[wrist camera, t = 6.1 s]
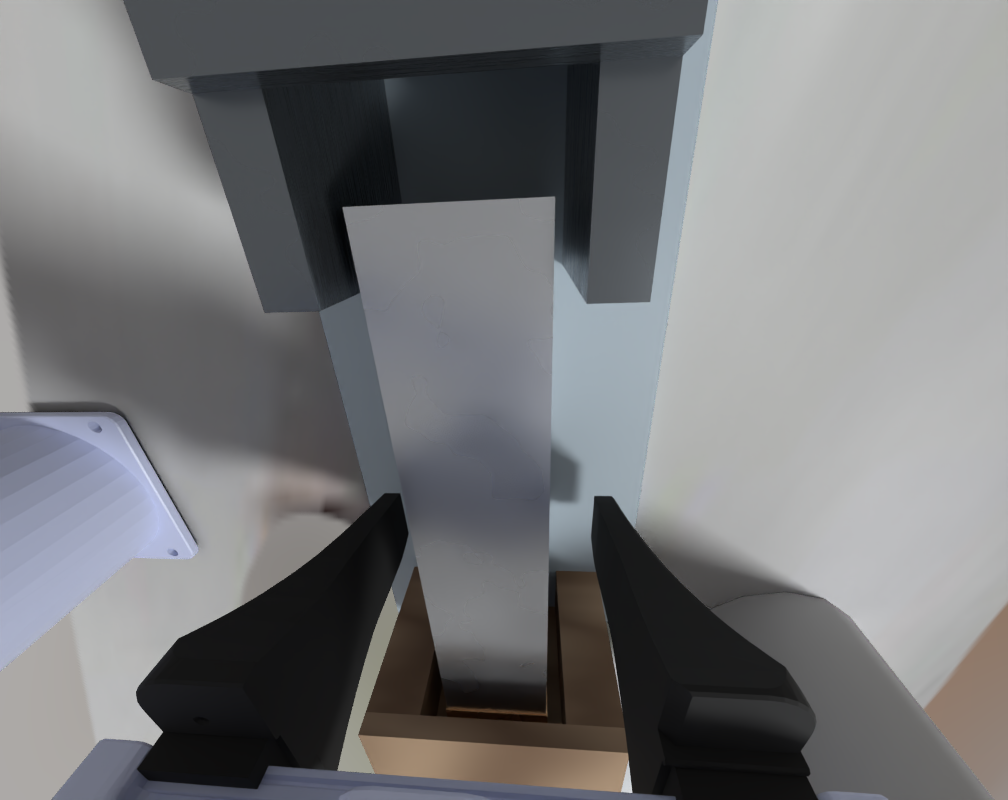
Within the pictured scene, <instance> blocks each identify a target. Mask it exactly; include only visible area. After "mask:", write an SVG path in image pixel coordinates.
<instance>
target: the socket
mask: <svg viewBox="0 0 1008 800" xmlns="http://www.w3.org/2000/svg"><path fill="white" fill-rule="evenodd" d="M446 707H447V703H446V698H445V694H444V689H443V684H442V679H441V675H440V670H439V665H438V660H437V656H436V651H435V646H434V641H433V637H432V632H431V627H430V622H429V617H428V613H427V608H426V603H425V598H424V594H423V589H422V584H421V579H420V575H419V570H418V567H414V570H413V573H412V576H411V579H410V582H409V585H408V588H407V591H406V594H405V597H404V600H403V603H402V606H401V609H400V611H399V615H398V617H397V621H396V623H395V626H394V629H393V633H392V636H391V638H390V642H389V644H388V648H387V651H386V653H385V657H384V659H383V662H382V665H381V668H380V671H379V674H378V678H377V680H376V684H375V686H374V689H373V692H372V695H371V698H370V701H369V704H368V707H367V710H366V713H365V716H364V719H363V723H362V726H361V728H360V731H359V734H358V736H359V738H360V740H361V742H362V745H363V747H364V749H365V751H366V754H367V756H368V758H369V760H370V763H371V765H372V767H373V769H374V772H375V774H385V775H398V776H411V777H424V778H438V779H451V780H464V781H477V782H491V783H504V784H517V785H531V786H544V787H557V788H570V789H584V790H597V791H610V792H621V789H622V785H623V780H624V776H625V772H626V768H627V763H628V759H629V758H628V750H627V742H626V734H625V727H624V719H623V713H622V707H621V702H620V696H619V691H618V685H617V680H616V674H615V669H614V663H613V658H612V652H611V647H610V641H609V636H608V630H607V625H606V619H605V614H604V608H603V603H602V597H601V592H600V587H599V582H598V578H597V574H596V572H582V571H556V590H555V607H550V606H548V632H547V715H548V717H547V723H536V722H520V721H504V720H488V719H471V718H455V717H447V713H446Z"/></svg>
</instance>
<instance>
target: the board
mask: <svg viewBox="0 0 1008 800" xmlns="http://www.w3.org/2000/svg"><path fill="white" fill-rule="evenodd" d="M717 4H718V0H708V5H707V12H706V19H705V26H704V32H703V35H702V36H701V37H700V38H699V39H698V40H697V42H696V43H695V44H694V45H693V46H692V47H691V48H690V49H689V50H688V51H687V52H686V53H685V54H684V55H683V60H682V67H681V75H680V82H679V90H678V97H677V105H676V112H675V120H674V127H673V135H672V142H671V150H670V157H669V165H668V172H667V180H666V187H665V195H664V202H663V210H662V217H661V225H660V232H659V240H658V247H657V255H656V262H655V270H654V277H653V285H652V292H651V300H650V302H640V303H603V304H586V302H585V301H584V299H583V297H582V296H581V294H580V292H579V291H578V289H577V288H576V286H575V284H574V283H573V281H572V279H571V278H570V276H569V275H568V273H567V271H566V270H565V268H564V266H563V265H562V251H563V214H564V177H565V140H566V103H567V66H568V65H558V66H545V67H532V68H519V69H506V70H494V71H481V72H468V73H455V74H442V75H430V76H417V77H404V78H391V79H384V83H385V90H386V97H387V104H388V111H389V117H390V124H391V131H392V138H393V145H394V152H395V159H396V166H397V172H398V179H399V186H400V193H401V200H402V204H415V203H435V202H455V201H475V200H495V199H515V198H535V197H554V196H555V238H554V295H553V351H552V407H551V463H550V520H549V576H548V606H550V607H555V590H556V571H582V572H596V570H595V566H594V559H593V551H592V543H591V529H592V517H593V506H594V496H612V497H613V498H614V499H615V501H616V502H617V504H618V505H619V507H620V508H621V510H622V512H623V513H624V515H625V516H626V517H627V519H628V520H629V522H630V523H631V525H632V526H633V527H634V529H635V525H636V518H637V512H638V506H639V499H640V493H641V487H642V480H643V474H644V468H645V461H646V455H647V449H648V442H649V436H650V429H651V423H652V417H653V410H654V404H655V398H656V391H657V385H658V379H659V372H660V366H661V360H662V353H663V347H664V341H665V334H666V328H667V321H668V315H669V309H670V302H671V296H672V290H673V283H674V277H675V271H676V264H677V258H678V252H679V245H680V239H681V233H682V226H683V220H684V213H685V207H686V201H687V194H688V188H689V182H690V175H691V169H692V163H693V156H694V150H695V144H696V137H697V131H698V125H699V118H700V112H701V105H702V99H703V93H704V86H705V80H706V74H707V67H708V61H709V55H710V48H711V42H712V36H713V29H714V23H715V17H716V10H717ZM319 314H320V318H321V321H322V325H323V329H324V333H325V336H326V340H327V344H328V348H329V352H330V355H331V359H332V363H333V367H334V371H335V374H336V378H337V382H338V386H339V389H340V393H341V397H342V401H343V405H344V408H345V412H346V416H347V420H348V423H349V427H350V431H351V435H352V439H353V442H354V446H355V450H356V454H357V457H358V461H359V465H360V469H361V473H362V476H363V480H364V484H365V488H366V491H367V495H368V499H369V503H370V507H371V506H372V505H373V504H374V503H375V502H376V501H377V500H378V499H379V498H380V497H381V496H382V495H383V494H384V493H400V494H401V499H402V503H403V508H404V513H405V517H406V522H407V527H408V531H409V535H408V539H407V543H406V547H405V550H404V554H403V558H402V561H401V563H400V566H399V568H398V571H397V574H396V576H395V579H394V581H393V584H392V590H393V594H394V597H395V601H396V604H397V608H398V612H399V611H400V609H401V606H402V603H403V600H404V597H405V594H406V591H407V588H408V585H409V582H410V579H411V576H412V573H413V570H414V567H418V565H417V560H416V556H415V551H414V546H413V541H412V536H411V532H410V527H409V522H408V517H407V513H406V508H405V503H404V498H403V494H402V489H401V484H400V479H399V475H398V470H397V465H396V460H395V455H394V451H393V446H392V441H391V436H390V432H389V427H388V422H387V417H386V413H385V408H384V403H383V398H382V394H381V389H380V384H379V379H378V374H377V370H376V365H375V360H374V355H373V351H372V346H371V341H370V336H369V332H368V327H367V322H366V317H365V313H364V308H363V303H362V298H361V293H359V294H357V295H355V296H352V297H350V298H348V299H346V300H344V301H341V302H339V303H337V304H335V305H332V306H330V307H328V308H326V309H324V310H321V311H319ZM600 592H601V591H600ZM601 597H602V595H601ZM602 603H603V599H602ZM603 608H604V614H605V619H606V622H608V619H607V615H606V611H605V607H604V603H603Z"/></svg>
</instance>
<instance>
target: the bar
mask: <svg viewBox="0 0 1008 800" xmlns="http://www.w3.org/2000/svg"><path fill="white" fill-rule="evenodd" d="M342 208H343V212H344V217H345V222H346V227H347V232H348V236H349V241H350V246H351V251H352V255H353V260H354V265H355V270H356V274H357V279H358V284H359V289H360V293H361V298H362V303H363V308H364V313H365V317H366V322H367V327H368V332H369V336H370V341H371V346H372V351H373V355H374V360H375V365H376V370H377V374H378V379H379V384H380V389H381V394H382V398H383V403H384V408H385V413H386V417H387V422H388V427H389V432H390V436H391V441H392V446H393V451H394V455H395V460H396V465H397V470H398V475H399V479H400V484H401V489H402V494H403V498H404V503H405V508H406V513H407V517H408V522H409V527H410V532H411V536H412V541H413V546H414V551H415V556H416V560H417V565H418V570H419V575H420V579H421V584H422V589H423V594H424V598H425V603H426V608H427V613H428V617H429V622H430V627H431V632H432V637H433V641H434V646H435V651H436V656H437V660H438V665H439V670H440V675H441V679H442V684H443V689H444V694H445V698H446V703H447V707H446V713H447V717H455V718H471V719H488V720H504V721H520V722H536V723H547V717H548V715H547V632H548V576H549V520H550V463H551V407H552V351H553V295H554V238H555V196H554V197H535V198H515V199H495V200H475V201H455V202H435V203H415V204H395V205H375V206H355V207H342Z"/></svg>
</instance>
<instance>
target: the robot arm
mask: <svg viewBox="0 0 1008 800" xmlns="http://www.w3.org/2000/svg"><path fill="white" fill-rule="evenodd" d="M408 535H409V531H408V527H407V522H406V517H405V513H404V508H403V503H402V499H401V494H400V493H384V494H383V495H382V496H381V497H380V498H379V499H378V500H377V501H376V502H375V503H374V504H373V505H372V506H371V507H370V508H369V509H368V510H366V511H365V512H364V513H363V514H362V515H361V516H360V517H359V518H358V519H357V520H356V521H355V522H354V523H353V524H352V525H351V526H350V527H349V528H347V529H346V530H345V531H344V532H343V533H342V534H341V535H340V536H339V537H338V538H336V539H335V540H334V541H333V542H332V543H331V544H329V545H328V546H327V547H326V548H325V549H324V550H323V551H321V552H320V553H319V554H318V555H317V556H315V557H314V558H313V559H311V560H310V561H309V562H307V563H306V564H305V565H303V566H302V567H301V568H299V569H298V570H297V571H295V572H294V573H292V574H291V575H290V576H288V577H287V578H285V579H284V580H282V581H281V582H279V583H277V584H276V585H275V586H273V587H271V588H270V589H268V590H267V591H265V592H264V593H263V594H261V595H259V596H257V597H256V598H254V599H253V600H251V601H249V602H247V603H246V604H244V605H242V606H240V607H239V608H237V609H235V610H233V611H232V612H230V613H228V614H226V615H224V616H222V617H221V618H219V619H217V620H215V621H213V622H211V623H209V624H207V625H205V626H203V627H201V628H199V629H197V630H195V631H193V632H191V633H189V634H187V635H185V636H183V637H181V638H179V639H178V640H177V641H176V642H175V643H174V644H173V646H172V647H171V648H170V649H169V650H168V652H167V653H166V654H165V655H164V656H163V658H162V659H161V660H160V661H159V662H158V664H157V665H156V666H155V667H154V668H153V670H152V671H151V672H150V673H149V674H148V676H147V677H146V678H145V679H144V680H143V682H142V683H141V684H140V685H139V686H138V689H137V691H136V696H137V701H138V703H139V705H140V706H141V708H142V709H143V710H144V711H145V712H146V713H147V714H148V716H149V717H150V718H151V719H152V720H153V721H154V722H155V723H156V724H157V725H158V726H159V728H160V729H161V730H162V731H163V733H162V734H161V736H160V737H159V739H158V740H157V742H156V743H155V744H154V746H152V745H150V744H148V743H145V742H140V741H130V740H116V739H103V740H101V741H99V742H98V744H97V745H96V746H95V747H94V748H93V750H92V751H91V753H90V754H89V755H88V756H87V757H86V758H85V759H84V761H83V762H82V763H81V764H80V766H79V767H78V768H77V769H76V770H75V772H74V773H73V774H72V775H71V777H70V778H69V779H68V780H67V782H66V783H65V784H64V785H63V786H62V787H61V789H60V790H59V791H58V792H57V794H56V795H55V796H54V797H53V798H52V800H888V799H887V798H886V797H884V796H882V795H880V794H867V793H854V792H840V791H827V792H822V793H819V794H817V795H816V794H815V792H814V790H813V788H812V786H811V784H810V782H809V780H808V778H807V776H809V775H810V774H811V773H810V768H809V766H808V764H807V762H806V760H805V758H804V756H803V755H802V753H801V750H802V749H803V747H804V746H805V744H806V743H807V741H808V740H809V738H810V737H811V735H812V734H813V732H814V729H815V726H816V723H817V721H816V716H815V713H814V711H813V710H812V708H811V706H810V704H809V703H808V701H807V699H806V697H805V696H804V694H803V692H802V691H801V689H800V688H799V686H798V684H797V683H796V682H795V680H794V679H793V677H792V676H791V674H790V673H789V672H788V670H787V668H786V667H785V666H783V665H782V664H781V663H779V662H778V661H776V660H775V659H773V658H772V657H771V656H769V655H768V654H766V653H765V652H763V651H762V650H761V649H759V648H758V647H756V646H755V645H753V644H752V643H751V642H749V641H748V640H747V639H745V638H744V637H743V636H741V635H740V634H739V633H737V632H736V631H735V630H734V629H732V628H731V627H730V626H728V625H727V624H726V623H725V622H723V621H722V620H721V619H720V618H719V617H718V616H716V615H715V614H714V613H713V612H712V611H711V610H710V609H708V608H707V607H706V606H705V605H704V604H703V603H701V602H700V601H699V600H698V599H697V598H696V597H695V596H694V595H693V594H692V593H691V592H690V591H689V590H688V589H686V588H685V587H684V586H683V585H682V584H681V583H680V582H679V580H678V579H677V578H676V577H675V576H674V575H673V574H672V573H671V572H670V571H669V570H668V569H667V568H666V567H665V566H664V565H663V563H662V562H661V561H660V560H659V559H658V558H657V556H656V555H655V554H654V553H653V552H652V550H651V549H650V548H649V547H648V546H647V544H646V543H645V542H644V540H643V539H642V538H641V537H640V535H639V534H638V533H637V531H636V530H635V529H634V527H633V526H632V525H631V523H630V522H629V520H628V519H627V517H626V516H625V515H624V513H623V512H622V510H621V508H620V507H619V505H618V504H617V502H616V501H615V499H614V498H613V497H612V496H594V506H593V517H592V529H591V543H592V551H593V559H594V566H595V570H596V574H597V578H598V582H599V587H600V591H601V595H602V599H603V603H604V607H605V611H606V615H607V619H608V624H609V628H610V633H611V637H612V643H613V649H614V656H615V662H616V669H617V676H618V683H619V690H620V697H621V704H622V711H623V719H624V727H625V734H626V742H627V750H628V758H629V766H630V775H631V783H632V792H633V793H624V792H610V791H597V790H584V789H570V788H557V787H544V786H531V785H517V784H504V783H491V782H477V781H464V780H451V779H438V778H424V777H411V776H398V775H385V774H371V773H357V772H345V771H337V769H338V765H339V760H340V756H341V752H342V748H343V743H344V739H345V734H346V730H347V726H348V722H349V718H350V714H351V710H352V706H353V703H354V698H355V695H356V691H357V687H358V684H359V680H360V677H361V673H362V669H363V666H364V662H365V659H366V655H367V652H368V649H369V645H370V642H371V638H372V635H373V632H374V629H375V626H376V624H377V621H378V618H379V616H380V613H381V611H382V608H383V606H384V603H385V601H386V598H387V596H388V593H389V591H390V588H391V586H392V584H393V581H394V579H395V576H396V574H397V571H398V568H399V566H400V563H401V561H402V558H403V554H404V550H405V547H406V543H407V539H408ZM198 550H199V549H198V546H197V544H196V542H195V541H194V539H193V537H192V535H191V534H190V532H189V530H188V528H187V527H186V525H185V523H184V521H183V520H182V518H181V516H180V514H179V513H178V511H177V509H176V507H175V506H174V504H173V502H172V500H171V499H170V497H169V495H168V493H167V492H166V490H165V488H164V486H163V485H162V483H161V481H160V480H159V478H158V476H157V474H156V473H155V471H154V469H153V467H152V466H151V464H150V462H149V460H148V459H147V457H146V455H145V453H144V452H143V450H142V448H141V446H140V445H139V443H138V441H137V439H136V438H135V436H134V434H133V432H132V431H131V429H130V427H129V425H128V424H127V422H126V421H125V419H124V418H123V417H121V416H120V415H118V414H116V413H112V412H0V671H2V670H3V669H4V668H5V667H6V666H7V665H9V664H10V663H11V662H12V661H13V660H14V659H16V658H17V657H18V656H19V655H20V654H21V653H23V652H24V651H25V650H26V649H27V648H28V647H29V646H31V645H32V644H33V643H34V642H35V641H37V640H38V639H39V638H40V637H41V636H42V635H43V634H45V633H46V632H47V631H48V630H49V629H50V628H52V627H53V626H54V625H55V624H56V623H57V622H58V621H60V620H61V619H62V618H63V617H65V616H66V615H67V614H68V613H69V612H70V611H72V610H73V609H74V608H75V607H76V606H77V605H78V604H80V603H81V602H82V601H83V600H84V599H85V598H87V597H88V596H89V595H90V594H91V593H92V592H94V591H95V590H96V589H97V588H98V587H99V586H101V585H102V584H103V583H104V582H105V581H106V580H108V579H109V578H110V577H111V576H112V575H113V574H115V573H116V572H117V571H118V570H119V569H120V568H122V567H123V566H124V565H125V564H126V563H127V562H129V561H130V560H131V559H132V558H163V559H191V558H192V557H194V556H195V555H196V554H197V553H198Z"/></svg>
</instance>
